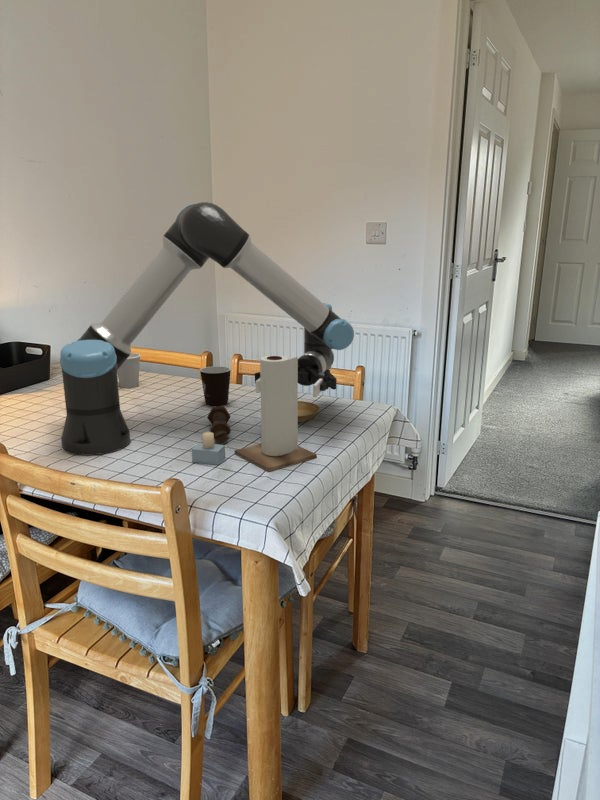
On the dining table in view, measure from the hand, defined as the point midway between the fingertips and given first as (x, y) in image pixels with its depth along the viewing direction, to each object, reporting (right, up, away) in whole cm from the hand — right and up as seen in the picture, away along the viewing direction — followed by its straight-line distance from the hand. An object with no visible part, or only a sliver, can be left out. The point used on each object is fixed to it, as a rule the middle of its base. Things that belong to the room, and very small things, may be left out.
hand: (285, 389), depth 133 cm
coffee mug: (-21, -3, +38) cm, 43 cm away
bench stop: (-16, -16, -6) cm, 23 cm away
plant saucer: (+1, -7, +25) cm, 26 cm away
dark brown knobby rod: (-16, -11, +11) cm, 23 cm away
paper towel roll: (-2, -14, -3) cm, 15 cm away
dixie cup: (-51, +2, +55) cm, 75 cm away
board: (-2, -15, -3) cm, 15 cm away
